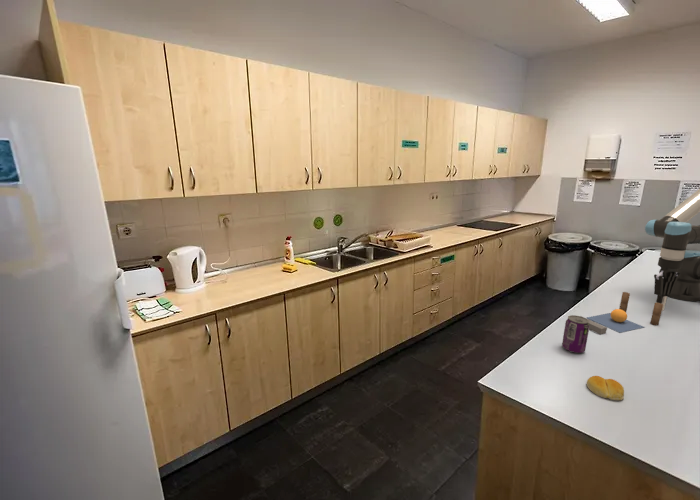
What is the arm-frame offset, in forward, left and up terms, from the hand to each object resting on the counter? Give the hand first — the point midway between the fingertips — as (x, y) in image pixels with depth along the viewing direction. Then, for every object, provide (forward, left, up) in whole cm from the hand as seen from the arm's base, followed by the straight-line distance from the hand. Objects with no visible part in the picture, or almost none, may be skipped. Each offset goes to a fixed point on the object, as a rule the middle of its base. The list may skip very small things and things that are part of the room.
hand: (659, 309), depth 149 cm
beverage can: (+62, +10, -2) cm, 63 cm away
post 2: (+13, +6, -2) cm, 15 cm away
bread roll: (+74, +30, -2) cm, 80 cm away
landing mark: (+27, 0, -2) cm, 27 cm away
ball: (+25, 0, +1) cm, 25 cm away
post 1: (+13, -6, -2) cm, 15 cm away
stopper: (+41, 0, -2) cm, 41 cm away
